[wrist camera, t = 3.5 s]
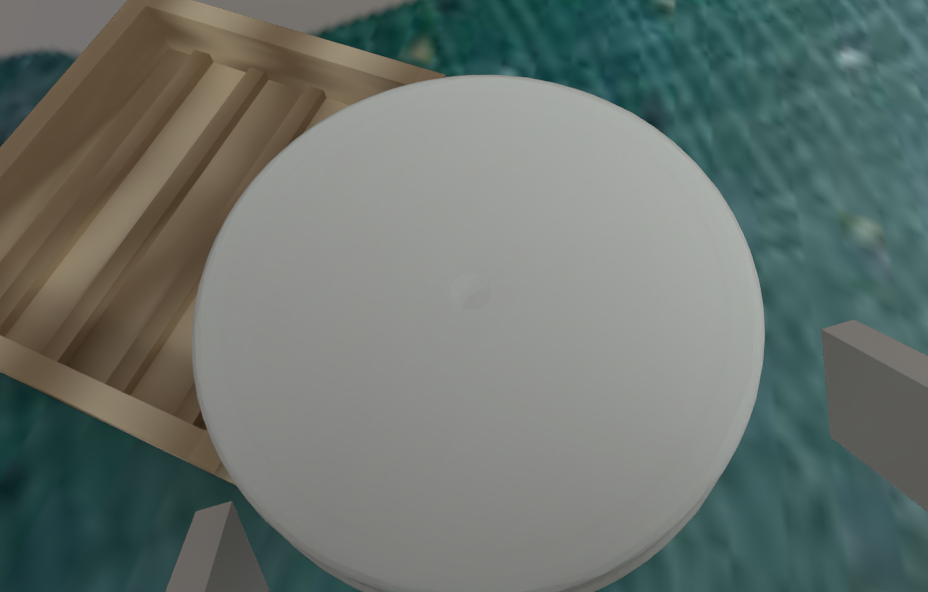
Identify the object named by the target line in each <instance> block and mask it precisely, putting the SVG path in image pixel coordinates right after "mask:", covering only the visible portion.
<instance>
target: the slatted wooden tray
mask: <svg viewBox="0 0 928 592" xmlns="http://www.w3.org/2000/svg"><path fill="white" fill-rule="evenodd" d="M444 77H446V75H444V74H440V73H437V72H434V71H430V70H427V69H423V68H420V67H417V66H413V65H410V64H407V63H403V62H400V61H396V60H393V59H390V58H386V57H383V56H379V55H376V54H373V53H369V52H366V51H363V50H359V49H356V48H352V47H349V46H346V45H342V44H339V43H335V42H332V41H329V40H325V39H322V38H318V37H315V36H312V35H308V34H305V33H302V32H298V31H295V30H291V29H288V28H284V27H281V26H278V25H274V24H271V23H268V22H264V21H261V20H257V19H254V18H250V17H247V16H244V15H240V14H237V13H234V12H230V11H227V10H224V9H220V8H217V7H213V6H210V5H207V4H203V3H200V2H197V1H193V0H128V1H127V2H126V3H125V4H124V5H123V6H122V8H121V9H120V10H119V11H118V12H117V13H116V14H115V16H114V17H113V18H112V19H111V20H110V21H109V23H108V24H107V25H106V26H105V27H104V28H103V29H102V31H101V32H100V33H99V34H98V35H97V36H96V37H95V39H94V40H93V41H92V42H91V43H90V44H89V46H88V47H87V48H86V49H85V50H84V51H83V52H82V54H81V55H80V56H79V57H78V58H77V59H76V61H75V62H74V63H73V64H72V65H71V66H70V67H69V69H68V70H67V71H66V72H65V73H64V74H63V76H62V77H61V78H60V79H59V80H58V81H57V83H56V84H55V85H54V86H53V87H52V88H51V89H50V91H49V92H48V93H47V94H46V95H45V96H44V98H43V99H42V100H41V101H40V102H39V103H38V104H37V106H36V107H35V108H34V109H33V110H32V111H31V113H30V114H29V115H28V116H27V117H26V118H25V119H24V121H23V122H22V123H21V124H20V125H19V126H18V128H17V129H16V130H15V131H14V132H13V133H12V134H11V136H10V137H9V138H8V139H7V140H6V141H5V143H4V144H3V145H2V146H1V147H0V372H1V373H3V374H5V375H7V376H9V377H11V378H13V379H15V380H17V381H19V382H21V383H23V384H26V385H28V386H30V387H32V388H34V389H36V390H38V391H40V392H42V393H44V394H46V395H48V396H51V397H53V398H55V399H57V400H59V401H61V402H63V403H65V404H67V405H69V406H71V407H73V408H75V409H78V410H80V411H82V412H84V413H86V414H88V415H90V416H92V417H94V418H96V419H98V420H100V421H103V422H105V423H107V424H109V425H111V426H113V427H115V428H117V429H119V430H121V431H123V432H125V433H127V434H130V435H132V436H134V437H136V438H138V439H140V440H142V441H144V442H146V443H148V444H150V445H152V446H154V447H157V448H159V449H161V450H163V451H165V452H167V453H169V454H171V455H173V456H175V457H177V458H179V459H182V460H184V461H186V462H188V463H190V464H192V465H194V466H196V467H198V468H200V469H202V470H204V471H206V472H209V473H211V474H213V475H215V476H217V477H219V478H221V479H223V480H225V481H227V482H229V483H231V484H234V485H235V483H234V482H233V480H232V478H231V477H230V475H229V473H228V472H227V470H226V468H225V467H224V465H223V464H222V462H221V460H220V458H219V456H218V454H217V451H216V449H215V447H214V445H213V443H212V441H211V438H210V435H209V433H208V430H207V427H206V425H205V422H204V419H203V416H202V412H201V409H200V405H199V402H198V398H197V393H196V387H195V381H194V373H193V362H192V326H193V316H194V308H195V303H196V297H197V292H198V287H199V283H200V280H201V276H202V273H203V270H204V267H205V264H206V261H207V258H208V255H209V253H210V250H211V248H212V246H213V243H214V241H215V239H216V237H217V235H218V233H219V231H220V229H221V227H222V225H223V223H224V221H225V220H226V218H227V216H228V214H229V213H230V211H231V210H232V208H233V207H234V205H235V203H236V202H237V200H238V199H239V198H240V196H241V195H242V194H243V192H244V191H245V190H246V188H247V187H248V186H249V184H250V183H251V182H252V181H253V180H254V178H255V177H256V176H257V175H258V174H259V173H260V172H261V171H262V169H263V168H264V167H265V166H266V165H267V164H268V163H269V162H270V161H271V160H272V159H273V158H274V157H275V156H277V155H278V154H279V153H280V152H281V151H282V150H283V149H284V148H285V147H287V146H288V145H289V144H290V143H291V142H292V141H294V140H295V139H296V138H297V137H299V136H300V135H302V134H303V133H304V132H306V131H307V130H309V129H310V128H311V127H313V126H314V125H315V124H317V123H319V122H320V121H322V120H324V119H326V118H327V117H329V116H331V115H332V114H334V113H336V112H338V111H340V110H342V109H343V108H345V107H347V106H349V105H352V104H354V103H356V102H359V101H361V100H364V99H366V98H368V97H371V96H373V95H376V94H379V93H381V92H384V91H387V90H390V89H393V88H397V87H400V86H404V85H408V84H412V83H416V82H421V81H426V80H432V79H438V78H444Z"/></svg>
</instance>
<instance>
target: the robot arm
mask: <svg viewBox="0 0 928 592" xmlns="http://www.w3.org/2000/svg"><path fill="white" fill-rule="evenodd" d="M821 330H822V343H823V355H824V367H825V379H826V391H827V403H828V416H829V428H830V437H831V438H832V439H834V440H835V441H836V442H838V443H839V444H840V445H842V446H843V447H844V448H845V449H847V450H848V451H849V452H851V453H852V454H853V455H855V456H856V457H857V458H859V459H860V460H861V461H862V462H864V463H865V464H866V465H868V466H869V467H870V468H872V469H873V470H874V471H875V472H877V473H878V474H879V475H881V476H882V477H883V478H885V479H886V480H887V481H888V482H890V483H891V484H892V485H894V486H895V487H896V488H898V489H899V490H900V491H901V492H903V493H904V494H905V495H907V496H908V497H909V498H911V499H912V500H913V501H914V502H916V503H917V504H918V505H920V506H921V507H922V508H924V509H925V510H926V511H928V356H927V355H925V354H923V353H921V352H919V351H916V350H914V349H912V348H910V347H908V346H906V345H904V344H902V343H900V342H898V341H896V340H894V339H892V338H890V337H888V336H886V335H884V334H882V333H880V332H878V331H876V330H874V329H872V328H870V327H868V326H866V325H864V324H862V323H860V322H858V321H856V320H851V321H848V322H844V323H841V324H837V325H834V326H830V327H827V328H824V329H821ZM166 592H270V591H269V588H268V586H267V583H266V581H265V579H264V576H263V574H262V571H261V569H260V567H259V564H258V562H257V559H256V557H255V555H254V552H253V550H252V547H251V545H250V543H249V540H248V538H247V536H246V533H245V531H244V528H243V526H242V524H241V521H240V519H239V516H238V514H237V512H236V509H235V507H234V504H233V502H232V501H230V502H227V503H223V504H220V505H216V506H213V507H210V508H206V509H203V510H199V511H196V512H195V515H194V518H193V520H192V523H191V526H190V528H189V531H188V533H187V536H186V539H185V541H184V544H183V547H182V549H181V552H180V555H179V557H178V560H177V563H176V565H175V568H174V570H173V573H172V576H171V578H170V581H169V584H168V586H167V589H166Z"/></svg>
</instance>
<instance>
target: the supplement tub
mask: <svg viewBox="0 0 928 592" xmlns="http://www.w3.org/2000/svg"><path fill="white" fill-rule="evenodd" d="M764 339H765V328H764V309H763V301H762V295H761V290H760V285H759V280H758V276H757V272H756V269H755V265H754V262H753V258H752V255H751V252H750V250H749V247H748V244H747V242H746V239H745V237H744V235H743V233H742V231H741V229H740V226H739V224H738V222H737V220H736V218H735V216H734V214H733V213H732V211H731V209H730V208H729V206H728V204H727V203H726V201H725V199H724V198H723V196H722V195H721V193H720V192H719V190H718V189H717V188H716V186H715V185H714V184H713V183H712V182H711V180H710V179H709V178H708V177H707V176H706V174H705V173H704V172H703V171H702V170H701V168H700V167H699V166H698V165H697V164H696V163H695V162H694V161H693V160H692V159H691V158H690V157H689V156H688V155H687V154H686V153H685V152H684V151H683V150H682V149H681V148H680V147H678V146H677V145H676V144H675V143H674V142H673V141H672V140H671V139H669V138H668V137H667V136H665V135H664V134H663V133H661V132H660V131H659V130H657V129H656V128H655V127H653V126H652V125H650V124H649V123H647V122H646V121H644V120H642V119H641V118H639V117H638V116H636V115H635V114H633V113H631V112H629V111H627V110H625V109H623V108H621V107H619V106H617V105H615V104H613V103H611V102H609V101H606V100H604V99H602V98H599V97H597V96H594V95H592V94H589V93H586V92H584V91H581V90H577V89H574V88H571V87H567V86H564V85H560V84H557V83H552V82H547V81H542V80H537V79H531V78H525V77H515V76H503V75H465V76H453V77H444V78H438V79H432V80H426V81H421V82H416V83H412V84H408V85H404V86H400V87H397V88H393V89H390V90H387V91H384V92H381V93H379V94H376V95H373V96H371V97H368V98H366V99H364V100H361V101H359V102H356V103H354V104H352V105H349V106H347V107H345V108H343V109H342V110H340V111H338V112H336V113H334V114H332V115H331V116H329V117H327V118H326V119H324V120H322V121H320V122H319V123H317V124H315V125H314V126H313V127H311V128H310V129H309V130H307V131H306V132H304V133H303V134H302V135H300V136H299V137H297V138H296V139H295V140H294V141H292V142H291V143H290V144H289V145H288V146H287V147H285V148H284V149H283V150H282V151H281V152H280V153H279V154H278V155H277V156H275V157H274V158H273V159H272V160H271V161H270V162H269V163H268V164H267V165H266V166H265V167H264V168H263V169H262V171H261V172H260V173H259V174H258V175H257V176H256V177H255V178H254V180H253V181H252V182H251V183H250V184H249V186H248V187H247V188H246V190H245V191H244V192H243V194H242V195H241V196H240V198H239V199H238V200H237V202H236V203H235V205H234V207H233V208H232V210H231V211H230V213H229V214H228V216H227V218H226V220H225V221H224V223H223V225H222V227H221V229H220V231H219V233H218V235H217V237H216V239H215V241H214V243H213V246H212V248H211V250H210V253H209V255H208V258H207V261H206V264H205V267H204V270H203V273H202V276H201V280H200V283H199V287H198V292H197V297H196V303H195V308H194V316H193V326H192V362H193V373H194V381H195V387H196V393H197V398H198V402H199V405H200V409H201V412H202V416H203V419H204V422H205V425H206V427H207V430H208V433H209V435H210V438H211V441H212V443H213V445H214V447H215V449H216V451H217V454H218V456H219V458H220V460H221V462H222V464H223V465H224V467H225V468H226V470H227V472H228V473H229V475H230V477H231V478H232V480H233V482H234V483H235V485H236V486H237V487H238V489H239V490H240V491H241V493H242V494H243V495H244V497H245V498H246V499H247V500H248V502H249V503H250V504H251V505H252V506H253V507H254V508H255V510H256V511H257V512H258V513H259V514H260V515H261V516H262V518H263V519H264V520H265V521H266V522H268V523H269V524H270V525H271V526H272V527H273V528H274V529H275V530H276V531H278V532H279V533H280V534H281V535H282V536H283V537H284V538H285V539H287V540H288V541H289V542H290V543H291V544H292V545H293V546H294V547H295V548H296V549H297V550H299V551H300V552H301V553H302V554H304V555H305V556H306V557H307V558H308V559H310V560H311V561H312V562H313V563H315V564H316V565H317V566H319V567H320V568H321V569H323V570H324V571H326V572H328V573H329V574H331V575H333V576H334V577H336V578H338V579H339V580H341V581H343V582H345V583H346V584H348V585H350V586H352V587H353V588H355V589H358V590H360V591H362V592H595V591H597V590H599V589H601V588H603V587H605V586H607V585H609V584H611V583H613V582H615V581H617V580H619V579H621V578H622V577H624V576H625V575H627V574H628V573H630V572H631V571H633V570H634V569H636V568H637V567H639V566H640V565H642V564H643V563H645V562H646V561H648V560H649V559H650V558H651V557H652V556H654V555H655V554H656V553H657V552H658V551H660V550H661V549H662V548H663V547H664V546H666V545H667V544H668V543H669V542H670V540H671V539H672V538H673V537H674V536H675V535H676V534H677V533H678V532H679V531H680V530H681V529H682V528H683V527H684V526H685V525H686V524H687V523H688V522H689V520H690V519H691V518H692V517H693V516H694V515H695V514H696V513H697V511H698V510H699V509H700V507H701V505H702V504H703V502H704V501H705V499H706V498H707V496H708V495H709V493H710V492H711V490H712V489H713V487H714V485H715V484H716V482H717V480H718V479H719V477H720V476H721V474H722V473H723V472H724V470H725V468H726V466H727V464H728V463H729V461H730V459H731V457H732V456H733V454H734V452H735V450H736V449H737V447H738V445H739V443H740V440H741V438H742V436H743V433H744V431H745V429H746V427H747V424H748V421H749V419H750V416H751V413H752V410H753V407H754V404H755V401H756V396H757V391H758V386H759V381H760V376H761V371H762V366H763V354H764Z"/></svg>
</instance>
